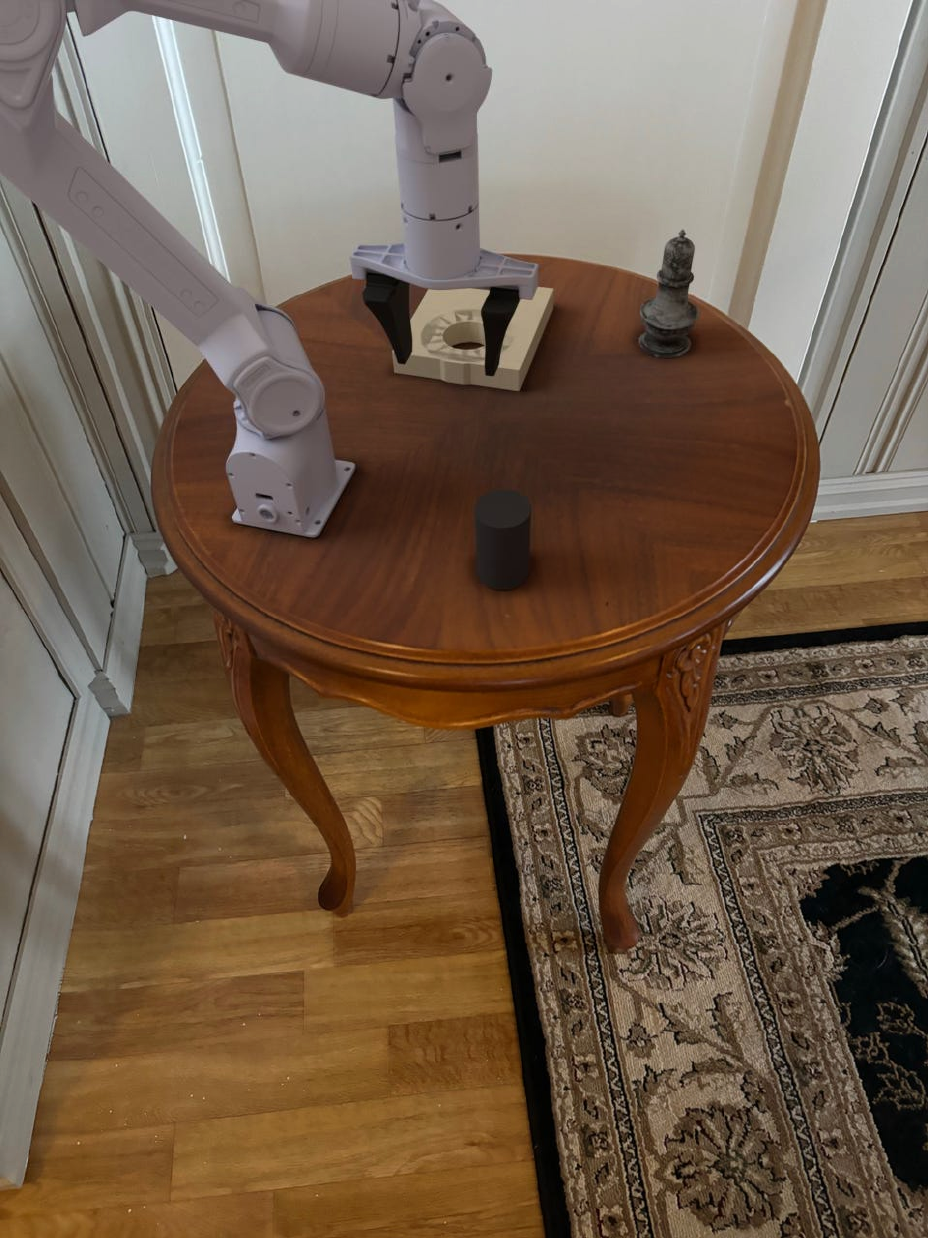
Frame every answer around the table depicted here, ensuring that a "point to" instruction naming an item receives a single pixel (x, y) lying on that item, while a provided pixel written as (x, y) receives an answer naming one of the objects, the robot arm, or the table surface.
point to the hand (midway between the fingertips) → (448, 363)
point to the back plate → (473, 338)
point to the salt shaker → (671, 303)
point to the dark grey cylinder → (502, 539)
